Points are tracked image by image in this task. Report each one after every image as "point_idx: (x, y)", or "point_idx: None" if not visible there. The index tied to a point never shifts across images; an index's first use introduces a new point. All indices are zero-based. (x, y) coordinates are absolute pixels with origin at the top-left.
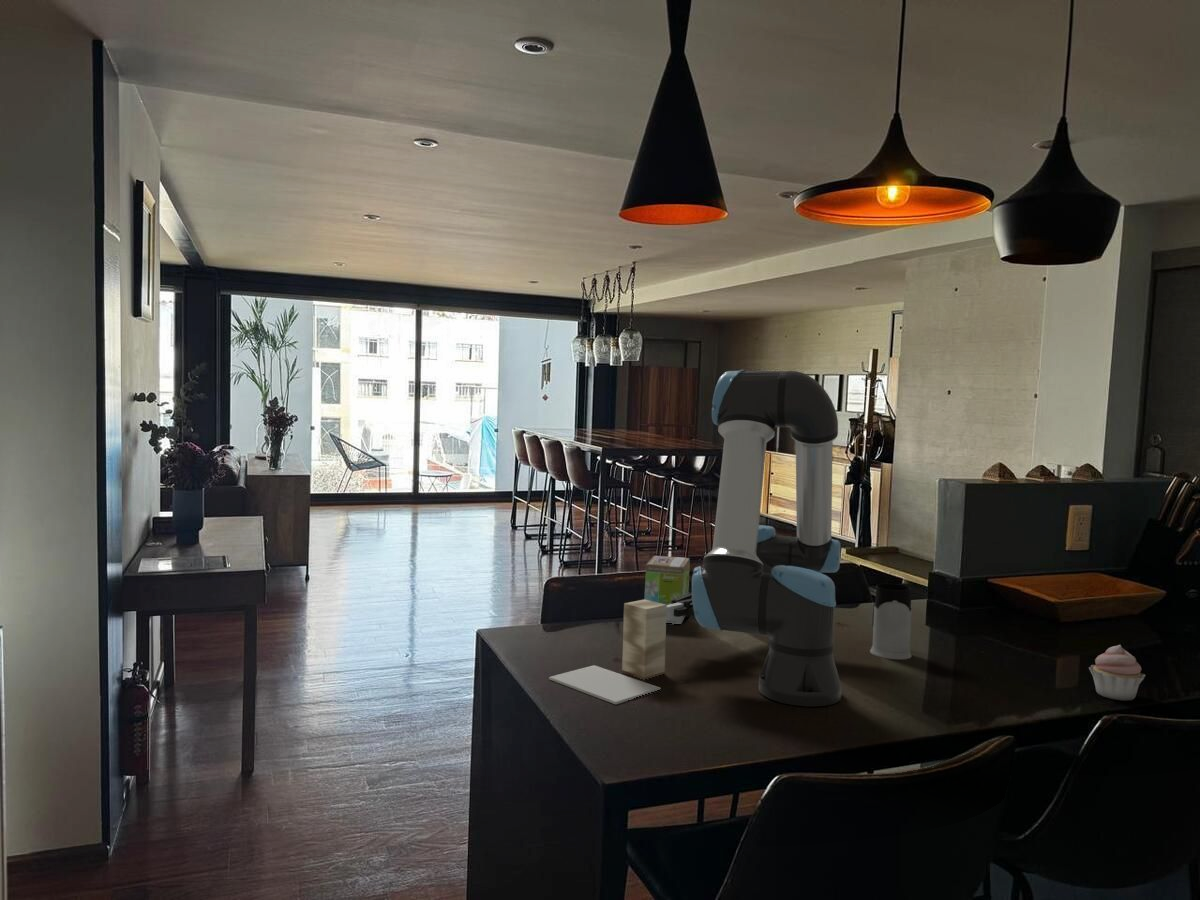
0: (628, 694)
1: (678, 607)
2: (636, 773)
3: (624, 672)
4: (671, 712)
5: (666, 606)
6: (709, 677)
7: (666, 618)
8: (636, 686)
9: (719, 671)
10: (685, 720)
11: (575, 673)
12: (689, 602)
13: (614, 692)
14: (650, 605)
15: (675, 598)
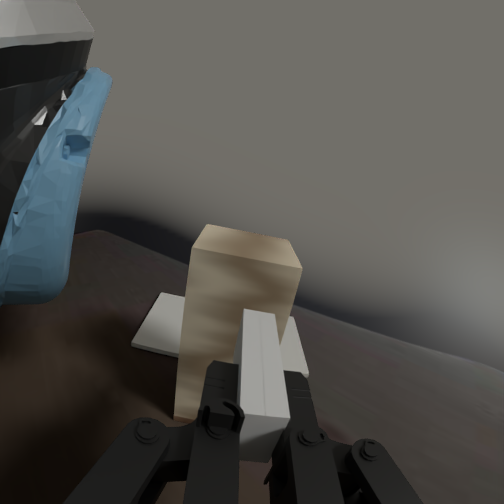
0: (161, 310)
1: (237, 385)
2: (86, 234)
3: None
4: (87, 296)
5: (191, 253)
6: (65, 443)
7: (234, 361)
8: (170, 334)
9: (56, 499)
10: (66, 285)
11: (286, 337)
12: (200, 408)
13: (182, 310)
14: (225, 238)
15: (412, 488)
